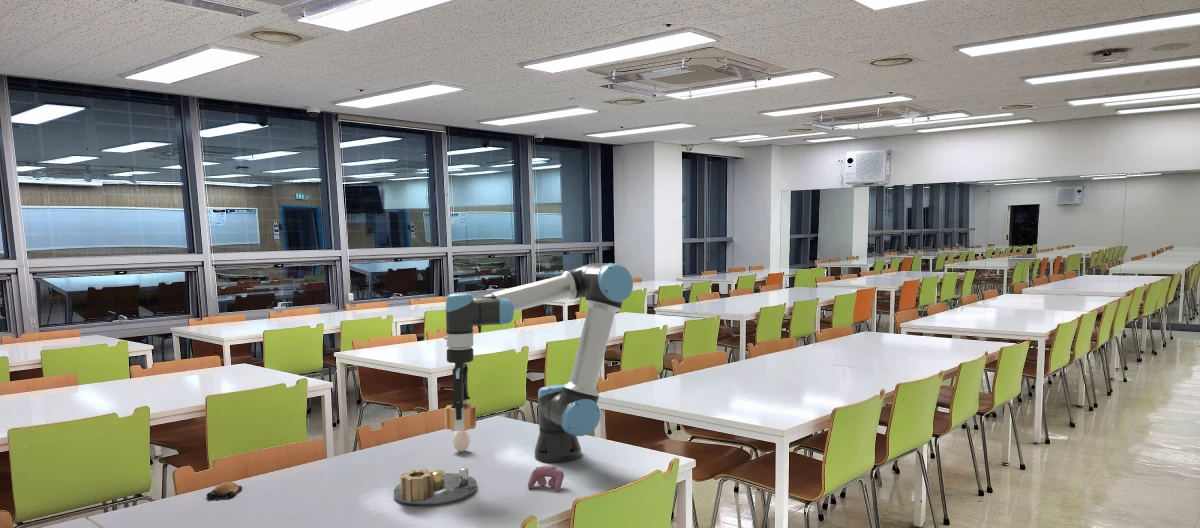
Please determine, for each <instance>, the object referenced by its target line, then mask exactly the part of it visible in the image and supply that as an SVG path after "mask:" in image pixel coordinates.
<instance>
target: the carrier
mask: <svg viewBox="0 0 1200 528" xmlns="http://www.w3.org/2000/svg"><path fill="white" fill-rule="evenodd" d="M399 480H400V482H399V484H397V485H396V486H395V487H394V489H393V499H394V501H396V503H399V504H401V505H404V506H410V507H420V508H421V507H422V508H427V507H428V508H429V507H437V506H445V505H450V504H453V503H457V502H460V501H463V500H466V499H467V498H469V497H471V496H472V495H474V494H475V493H476V492H477V489H478V488H477V487H478V486H477V480H476V479H475V478H474V477H472V476H470V475H469V468H467V467H461V468H459V469H458V473H455V472H454V473H453V472H445V470H443V469H431V470H428V469H425V468H424V469H417V470H416V469H411V470H410V471H407V472H402V473H401V476H400V479H399Z"/></svg>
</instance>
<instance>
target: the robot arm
mask: <svg viewBox="0 0 1200 528" xmlns="http://www.w3.org/2000/svg"><path fill="white" fill-rule="evenodd" d="M633 287H634V281H633V277H632V275H631V273H630V271H629V270H628V269H627V268H626V267H625V266H624V265H621V264H617V263H613V262H608V263H607V262H606V263H605V262H604V263H603V262H602V263H600V262H592V263H588V264H584V265H582V266H579V267H576V268H573V269H569V270H565V271H564V272H562V274H561V275H557V276H554V277H549V278H546V279H542V280H537V281H534V282H530V283H526V284H525V283H524V284H522V285H518V286H514V287H513V286H512V287H510V288H506V289H501V290H498V291H493V292H489V293H487V294H482V295H476V294H475V295H473V294H471V293H463V292H461V293H449V294H448V295H447V296H446V297H445V310H444V311H445V322H446V323H445V325H446V327H445V328H446V330H445V331H446V332H445V333H446V336H444V338H443V339H444V340H446V347H447V349H446V361H447V363H450V364H454V367H453V368H452V376H453V377H452V378H453V380H452V382H453V383H452V384H453V385H452V386H453V387H452V388H453V389H452V390H453V391H452V392H453V393H452V395H453V397H452V398H453V399H452V405H453V406H451V408H454V431H453V432H456V431H464V405H463V404H465V403H469V402H468V400H470V399H471V396H470V395H469V388H468V373H469V372H468V371H469V367H468V364H467V363H471V362H473V361H474V348H473V347H474V327H479V326H495V325H496V326H498V325H500V326H501V325H507V324H510V323H512V321H513V319H514V313H515V312H519V311H523V310H526V309H529V308H533V307H538V306H541V305H544V304H545V305H547V304H548V303H552V302H556V301H561V300H564V299H569V300H570V301H571V300H572V301H573V300H575V299H576V300H577V299H582V298H583V299H585V300H584V302H585V303H586V305H587V311H586V315H585V319H584V322H583V327H582V331H581V333H580V338H579V342H578V345H577V350H576V354H575V358H574V363H573V364H572V365H573V366H572V368H571V369H572V370H571V373H570V378H569V381H568V382H567V383H565V384H554V385H553V384H552V385H547V386H543V387H540V388H539V389H538V391H537V393H538V394H537V395H538V396H537V402H538V403H537V405H538V426H539V427H538V428H539V429H538V430H539V432H538V433H539V434H538V436H537V437H538V438H537V440H536V444H535V447H534V458H535V459H536V460H538V461H541V462H545V463H565V462H569V461H570V462H571V461H574V460H576V459H578V458H580V457H581V456H582V447H581V445H580V442H579V439H578V438H579V437H584V436H587V435H589V434H591V433H592V432H594V430H596V428H597V427H598V426H599V423H600V419H601V410H600V408H599V407H600V406H599V405H598V401H599V398H600V394H599V392H598V390H597V385H598V381H599V377H600V373H601V370H602V366H603V361H604V358H605V353H606V349H607V346H608V342H609V339H610V334H611V330H612V325H613V323H614V318H615V315H616V314H617V313H618V312H620V311H621V309H622V306H623V302H624V301H626V300H627V298H628V299H629V297H630V296H631V295H632V292H633V290H634V288H633Z"/></svg>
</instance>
